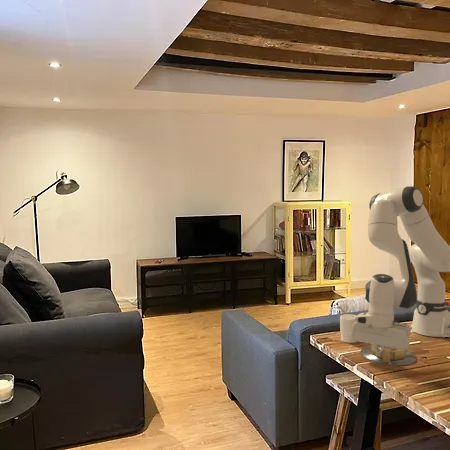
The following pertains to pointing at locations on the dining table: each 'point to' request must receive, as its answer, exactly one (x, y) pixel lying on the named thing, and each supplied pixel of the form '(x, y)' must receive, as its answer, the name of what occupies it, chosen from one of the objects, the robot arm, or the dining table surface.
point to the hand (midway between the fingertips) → (378, 356)
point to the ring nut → (389, 354)
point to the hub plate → (408, 359)
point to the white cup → (347, 327)
